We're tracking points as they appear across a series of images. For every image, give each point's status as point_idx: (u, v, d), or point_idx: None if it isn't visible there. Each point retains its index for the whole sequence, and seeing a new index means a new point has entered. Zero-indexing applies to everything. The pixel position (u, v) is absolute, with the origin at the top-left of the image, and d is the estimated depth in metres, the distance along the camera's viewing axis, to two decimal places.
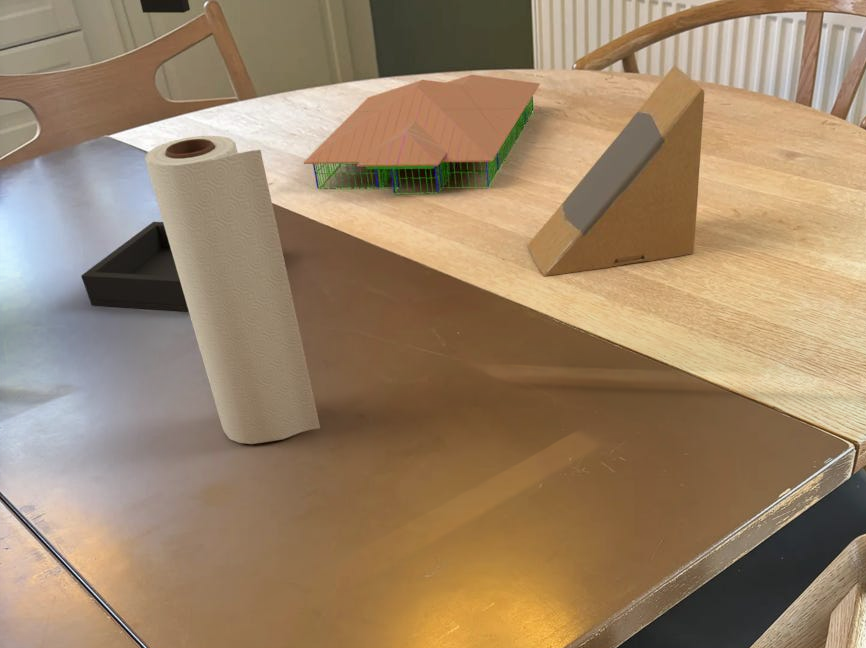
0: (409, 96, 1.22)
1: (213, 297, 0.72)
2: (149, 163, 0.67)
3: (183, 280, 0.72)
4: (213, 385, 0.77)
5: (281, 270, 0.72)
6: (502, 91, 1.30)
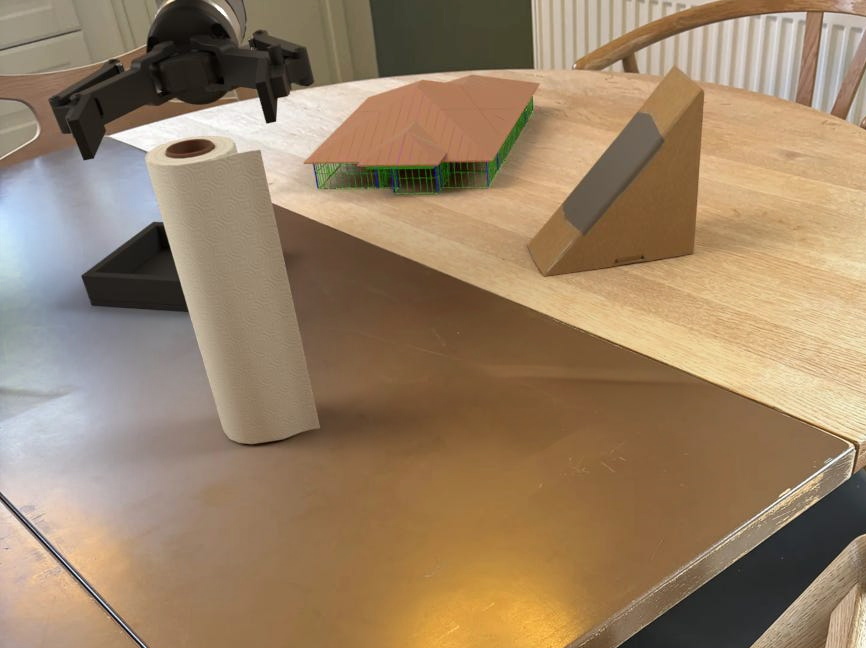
0: (409, 96, 1.22)
1: (213, 297, 0.72)
2: (149, 163, 0.67)
3: (183, 280, 0.72)
4: (213, 385, 0.77)
5: (281, 270, 0.72)
6: (502, 90, 1.30)
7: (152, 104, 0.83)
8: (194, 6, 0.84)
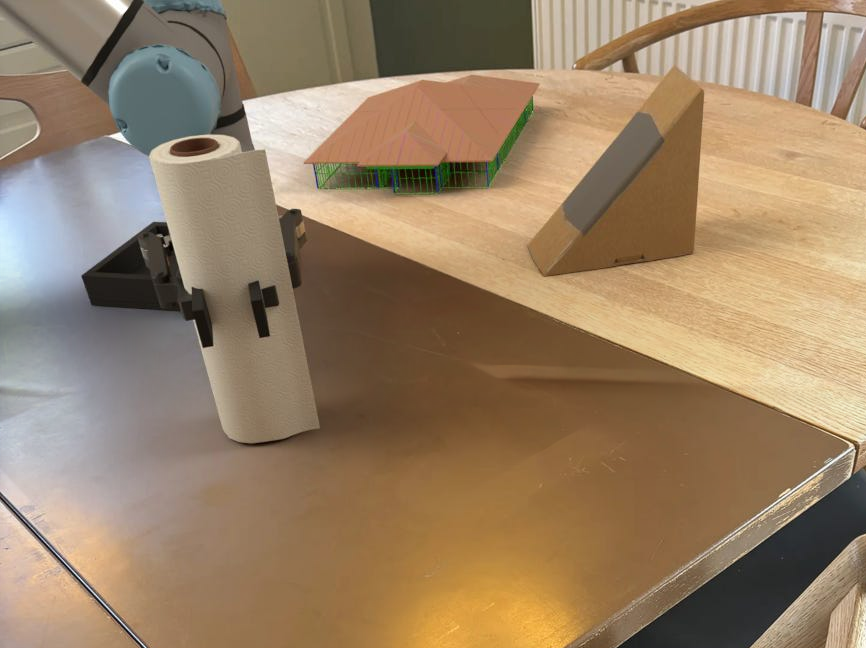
0: (409, 96, 1.22)
1: (215, 296, 0.72)
2: (153, 161, 0.67)
3: (185, 278, 0.72)
4: (213, 384, 0.77)
5: (284, 270, 0.72)
6: (502, 91, 1.30)
7: None
8: None
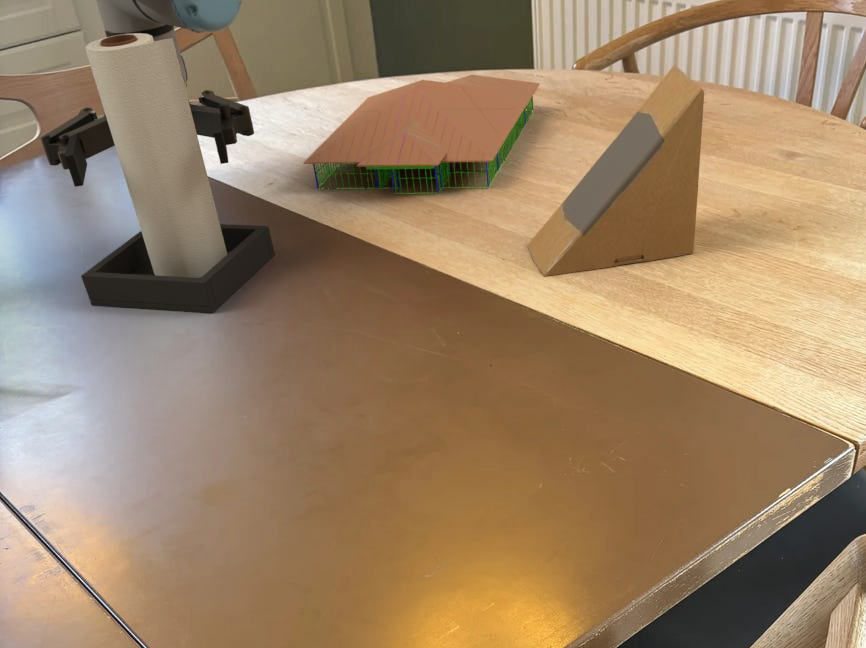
0: (408, 96, 1.22)
1: (143, 157, 0.95)
2: (89, 51, 0.90)
3: (118, 145, 0.95)
4: (145, 233, 1.01)
5: (193, 136, 0.96)
6: (502, 91, 1.30)
7: None
8: None
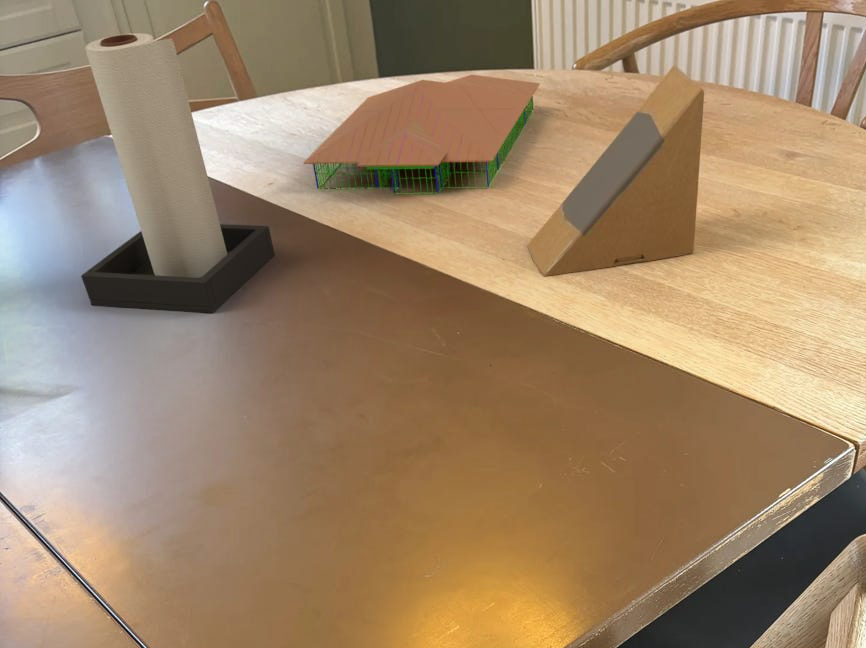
0: (408, 96, 1.22)
1: (143, 157, 0.95)
2: (89, 50, 0.90)
3: (118, 145, 0.95)
4: (145, 233, 1.01)
5: (193, 135, 0.96)
6: (502, 91, 1.30)
7: None
8: None
